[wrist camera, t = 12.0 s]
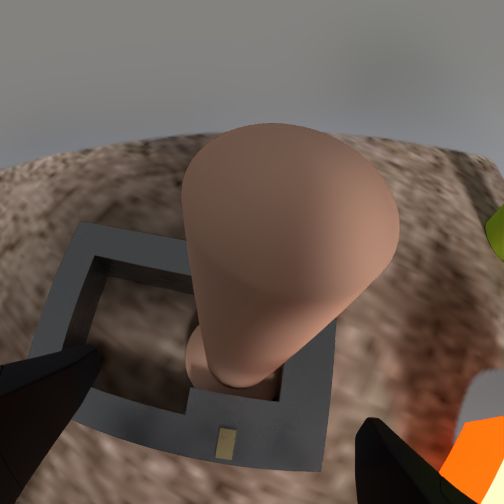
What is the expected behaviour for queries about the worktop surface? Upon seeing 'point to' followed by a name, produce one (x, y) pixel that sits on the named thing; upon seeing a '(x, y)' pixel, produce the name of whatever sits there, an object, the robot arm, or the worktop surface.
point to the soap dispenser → (496, 232)
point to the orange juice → (478, 461)
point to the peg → (277, 248)
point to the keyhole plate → (199, 401)
